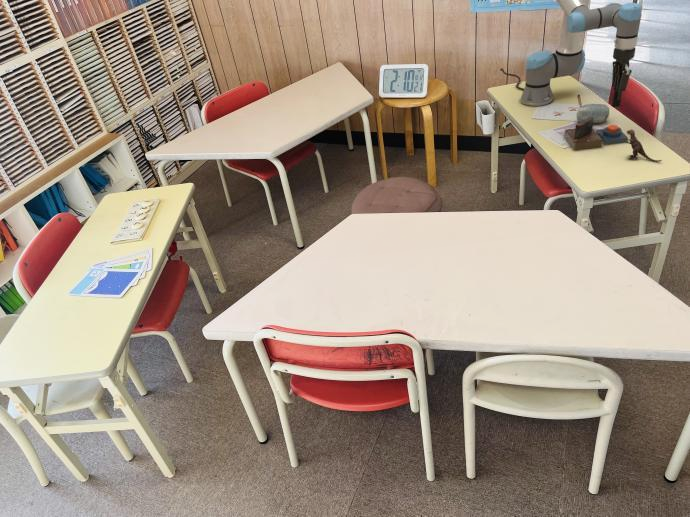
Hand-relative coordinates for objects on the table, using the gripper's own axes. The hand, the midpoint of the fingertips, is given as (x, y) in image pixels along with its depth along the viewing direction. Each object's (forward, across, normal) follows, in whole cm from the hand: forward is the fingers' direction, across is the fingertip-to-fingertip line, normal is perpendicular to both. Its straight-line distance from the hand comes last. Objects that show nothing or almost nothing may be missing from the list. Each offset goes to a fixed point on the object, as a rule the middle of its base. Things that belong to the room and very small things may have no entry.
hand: (615, 106), depth 219 cm
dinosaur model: (+15, +21, +4) cm, 26 cm away
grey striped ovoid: (+15, -18, -2) cm, 23 cm away
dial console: (+15, 0, -12) cm, 19 cm away
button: (+11, 0, 0) cm, 11 cm away
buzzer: (+15, 0, 0) cm, 15 cm away
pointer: (+11, 0, -12) cm, 16 cm away
